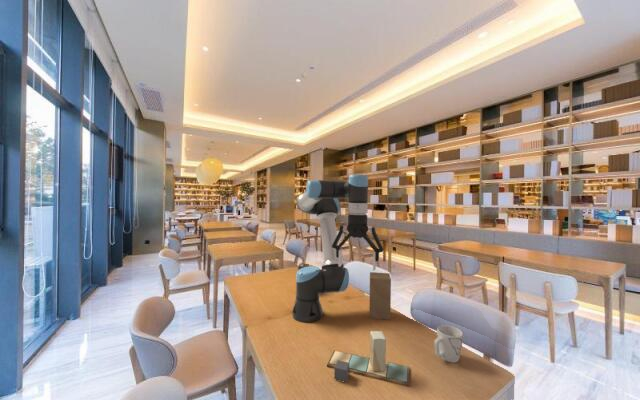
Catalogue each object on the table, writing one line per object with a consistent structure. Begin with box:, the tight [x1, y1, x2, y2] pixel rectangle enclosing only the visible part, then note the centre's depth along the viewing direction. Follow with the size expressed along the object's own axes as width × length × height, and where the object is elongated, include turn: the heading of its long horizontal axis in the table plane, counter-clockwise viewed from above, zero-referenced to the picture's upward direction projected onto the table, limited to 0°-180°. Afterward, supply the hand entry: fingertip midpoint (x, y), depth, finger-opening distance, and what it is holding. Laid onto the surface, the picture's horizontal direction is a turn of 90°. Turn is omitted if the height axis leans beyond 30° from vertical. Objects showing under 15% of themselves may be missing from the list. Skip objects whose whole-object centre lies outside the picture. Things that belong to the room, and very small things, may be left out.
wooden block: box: [368, 271, 392, 321], centre depth 127 cm, size 10×10×20 cm
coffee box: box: [297, 263, 310, 271], centre depth 159 cm, size 9×6×16 cm
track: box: [326, 349, 410, 387], centre depth 87 cm, size 27×9×1 cm, turn 71°
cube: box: [333, 360, 350, 383], centre depth 82 cm, size 4×4×4 cm
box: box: [369, 330, 387, 371], centre depth 86 cm, size 5×4×11 cm
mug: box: [433, 324, 464, 364], centre depth 92 cm, size 11×8×10 cm
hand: (356, 267), depth 99 cm, fingers open, 13 cm apart
